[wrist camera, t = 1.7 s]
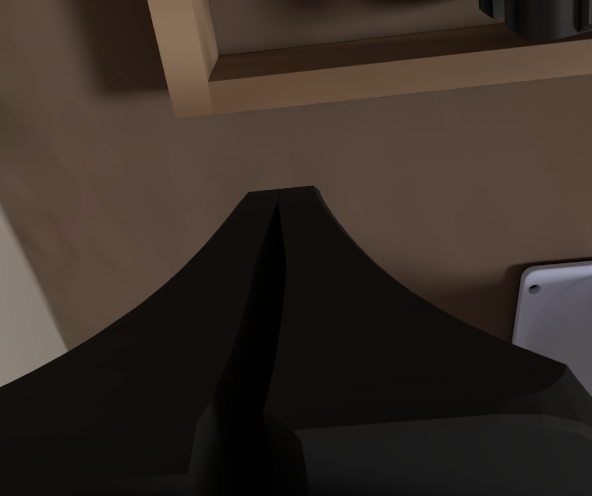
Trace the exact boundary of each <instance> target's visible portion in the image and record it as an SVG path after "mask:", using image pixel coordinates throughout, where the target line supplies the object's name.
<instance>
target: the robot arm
mask: <svg viewBox="0 0 592 496" xmlns="http://www.w3.org/2000/svg"><path fill="white" fill-rule="evenodd" d="M532 285H537V286H536V287H534V288H532V289H529V288H530V287H531V286H532ZM0 496H592V261H584V262H573V263H562V264H551V265H540V266H533V267H529V268H528V269H526V270H525V271H524V272H523V273H522V276H521V282H520V289H519V296H518V303H517V310H516V317H515V324H514V331H513V338H512V343H509V342H506V341H504V340H501V339H499V338H497V337H494V336H492V335H490V334H488V333H486V332H484V331H482V330H480V329H477V328H475V327H473V326H471V325H469V324H467V323H465V322H463V321H461V320H459V319H457V318H455V317H453V316H452V315H450V314H448V313H446V312H444V311H442V310H441V309H439V308H437V307H436V306H434V305H432V304H431V303H429V302H427V301H426V300H424V299H423V298H421V297H419V296H418V295H416V294H415V293H413V292H411V291H410V290H409V289H407V288H406V287H404V286H403V285H402V284H400V283H399V282H398V281H397V280H395V279H394V278H393V277H392V276H390V275H389V274H388V273H387V272H385V271H384V270H383V269H382V268H381V267H380V266H379V265H378V264H376V263H375V262H374V261H373V260H372V259H371V258H370V257H369V256H368V255H367V254H366V253H365V252H364V251H363V250H362V249H361V248H360V247H359V246H358V245H357V244H356V242H355V241H354V240H353V239H352V238H351V237H350V236H349V234H348V233H347V232H346V231H345V230H344V228H343V227H342V226H341V225H340V224H339V222H338V221H337V220H336V218H335V217H334V216H333V214H332V213H331V211H330V210H329V208H328V207H327V205H326V203H325V202H324V200H323V198H322V196H321V194H320V191H319V190H318V189H317V188H316V187H314V186H304V187H294V188H284V189H281V190H280V189H274V190H264V191H254V192H248V193H247V194H246V196H245V197H244V198H243V199H242V200H241V201H240V203H239V204H238V205H237V206H236V208H235V209H234V210H233V212H232V213H231V214H230V215H229V217H228V218H227V219H226V220H225V222H224V223H223V224H222V225H221V227H220V228H219V229H218V230H217V231H216V232H215V234H214V235H213V236H212V237H211V238H210V240H209V241H208V242H207V243H206V244H205V245H204V246H203V247H202V248H201V249H200V250H199V252H198V253H197V254H196V255H195V256H194V257H193V258H192V259H191V260H190V261H189V262H188V263H187V264H186V265H185V266H184V267H183V268H182V269H181V270H180V271H179V272H178V273H177V274H176V275H175V276H174V277H172V278H171V279H170V280H169V281H168V282H167V283H166V284H164V285H163V286H162V287H161V288H160V289H158V290H157V291H156V292H155V293H154V294H152V295H151V296H150V297H149V298H147V299H146V300H145V301H144V302H142V303H141V304H140V305H138V306H137V307H136V308H134V309H133V310H132V311H130V312H129V313H127V314H126V315H124V316H123V317H121V318H120V319H118V320H117V321H115V322H114V323H113V324H111V325H110V326H108V327H107V328H105V329H104V330H102V331H101V332H99V333H98V334H96V335H95V336H93V337H92V338H90V339H89V340H87V341H85V342H84V343H82V344H80V345H79V346H77V347H75V348H74V349H72V350H70V351H68V352H67V353H65V354H63V355H62V356H60V357H58V358H56V359H54V360H52V361H51V362H49V363H47V364H45V365H43V366H41V367H40V368H38V369H36V370H34V371H32V372H30V373H28V374H26V375H24V376H22V377H20V378H18V379H16V380H14V381H12V382H10V383H8V384H6V385H4V386H2V387H0Z"/></svg>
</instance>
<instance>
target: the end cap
mask: <svg viewBox="0 0 592 496" xmlns="http://www.w3.org/2000/svg"><path fill="white" fill-rule="evenodd" d="M479 9H480V10H482V12H484V13H485V14H487V15H488V16H490V17H491V18H493V19H496V18H500V17H504V16H505V26H507V27H508V28H509V29H510V30H511V31H513V32H514V33H516V34H517V35H519V36H520V37H522V38H523V39H526V40H528V41H548V40H555V39H560V38H564V37H568V36H572V35H576V34H580V33H584V32H588V31H592V0H479Z"/></svg>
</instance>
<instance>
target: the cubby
mask: <svg viewBox="0 0 592 496" xmlns="http://www.w3.org/2000/svg"><path fill="white" fill-rule="evenodd" d="M147 1H148V5H149V9H150V13H151V17H152V22H153V26H154V30H155V34H156V39H157V43H158V47H159V51H160V55H161V60H162V64H163V68H164V72H165V77H166V81H167V85H168V89H169V93H170V98H171V102H172V106H173V110H174V115H175V119H179V118H188V117H197V116H206V115H215V114H225V113H234V112H243V111H252V110H261V109H270V108H280V107H289V106H298V105H307V104H316V103H326V102H335V101H344V100H353V99H362V98H372V97H381V96H390V95H399V94H408V93H418V92H427V91H436V90H445V89H454V88H463V87H473V86H482V85H491V84H500V83H509V82H519V81H528V80H537V79H546V78H555V77H565V76H574V75H583V74H592V31H588V32H584V33H580V34H576V35H572V36H568V37H564V38H560V39H555V40H548V41H528V40H526V39H523V38H522V37H520V36H519V35H517V34H516V33H514V32H513V31H511V30H510V29H509V28H508V27H507V26H505V24H496V25H487V26H479V27H470V28H461V29H452V30H444V31H435V32H426V33H417V34H409V35H400V36H391V37H382V38H374V39H365V40H356V41H347V42H339V43H330V44H321V45H312V46H304V47H295V48H286V49H278V50H269V51H260V52H251V53H243V54H234V55H225V56H219V55H218V50H217V44H216V39H215V33H214V28H213V22H212V17H211V11H210V6H209V0H147Z"/></svg>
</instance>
